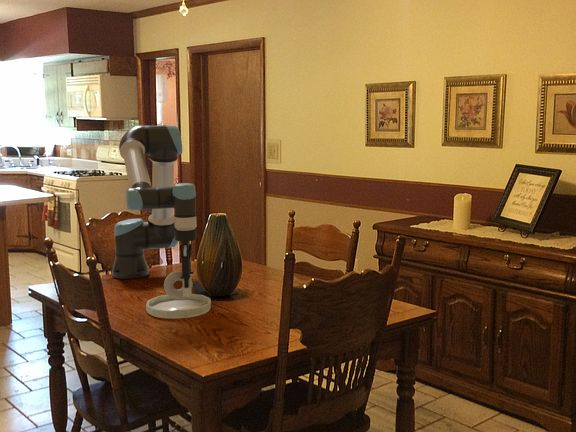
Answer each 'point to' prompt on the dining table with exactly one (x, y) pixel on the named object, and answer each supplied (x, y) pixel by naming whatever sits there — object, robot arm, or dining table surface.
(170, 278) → the donut
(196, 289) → the dark slate chunk
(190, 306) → the dish
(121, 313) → the dining table surface
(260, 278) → the dining table surface
